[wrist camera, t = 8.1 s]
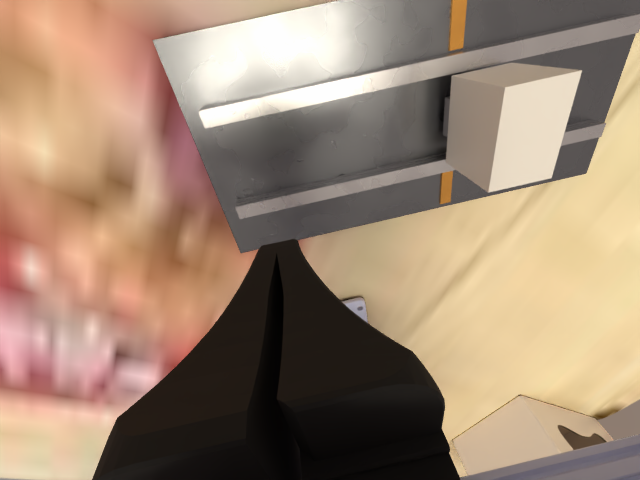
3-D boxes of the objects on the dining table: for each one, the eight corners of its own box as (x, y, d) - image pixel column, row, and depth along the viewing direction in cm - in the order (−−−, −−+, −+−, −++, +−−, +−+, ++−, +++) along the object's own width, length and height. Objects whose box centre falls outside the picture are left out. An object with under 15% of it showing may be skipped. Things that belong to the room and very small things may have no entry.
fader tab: (485, 145, 18) (551, 178, 14) (436, 156, 18) (488, 192, 14) (497, 61, 16) (581, 70, 11) (440, 73, 15) (505, 87, 11)
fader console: (568, 165, 22) (599, 179, 20) (242, 240, 21) (239, 262, 19) (639, -63, 15) (698, -79, 13) (162, 39, 15) (145, 40, 12)
